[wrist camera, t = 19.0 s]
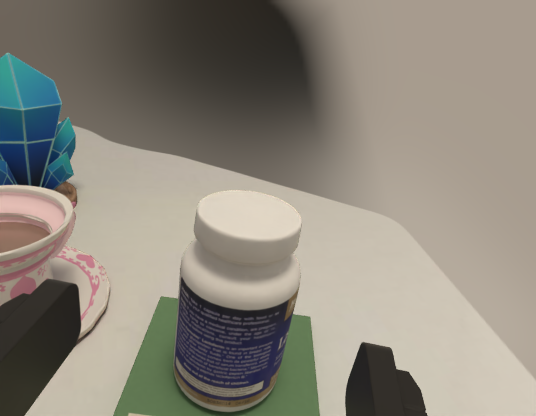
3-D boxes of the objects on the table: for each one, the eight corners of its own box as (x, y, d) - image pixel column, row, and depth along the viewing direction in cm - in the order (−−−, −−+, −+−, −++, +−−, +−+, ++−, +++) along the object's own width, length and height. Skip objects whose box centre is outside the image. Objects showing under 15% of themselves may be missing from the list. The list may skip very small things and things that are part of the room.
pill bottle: (291, 406, 21) (336, 244, 16) (179, 427, 19) (193, 251, 14) (260, 325, 26) (288, 183, 21) (167, 336, 24) (176, 181, 19)
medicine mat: (308, 321, 27) (310, 315, 27) (323, 477, 18) (325, 469, 18) (160, 301, 27) (160, 294, 27) (101, 451, 18) (101, 443, 18)
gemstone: (-36, 192, 35) (-67, 45, 30) (72, 180, 40) (62, 52, 35) (-29, 234, 30) (-65, 67, 25) (93, 214, 35) (86, 71, 30)
